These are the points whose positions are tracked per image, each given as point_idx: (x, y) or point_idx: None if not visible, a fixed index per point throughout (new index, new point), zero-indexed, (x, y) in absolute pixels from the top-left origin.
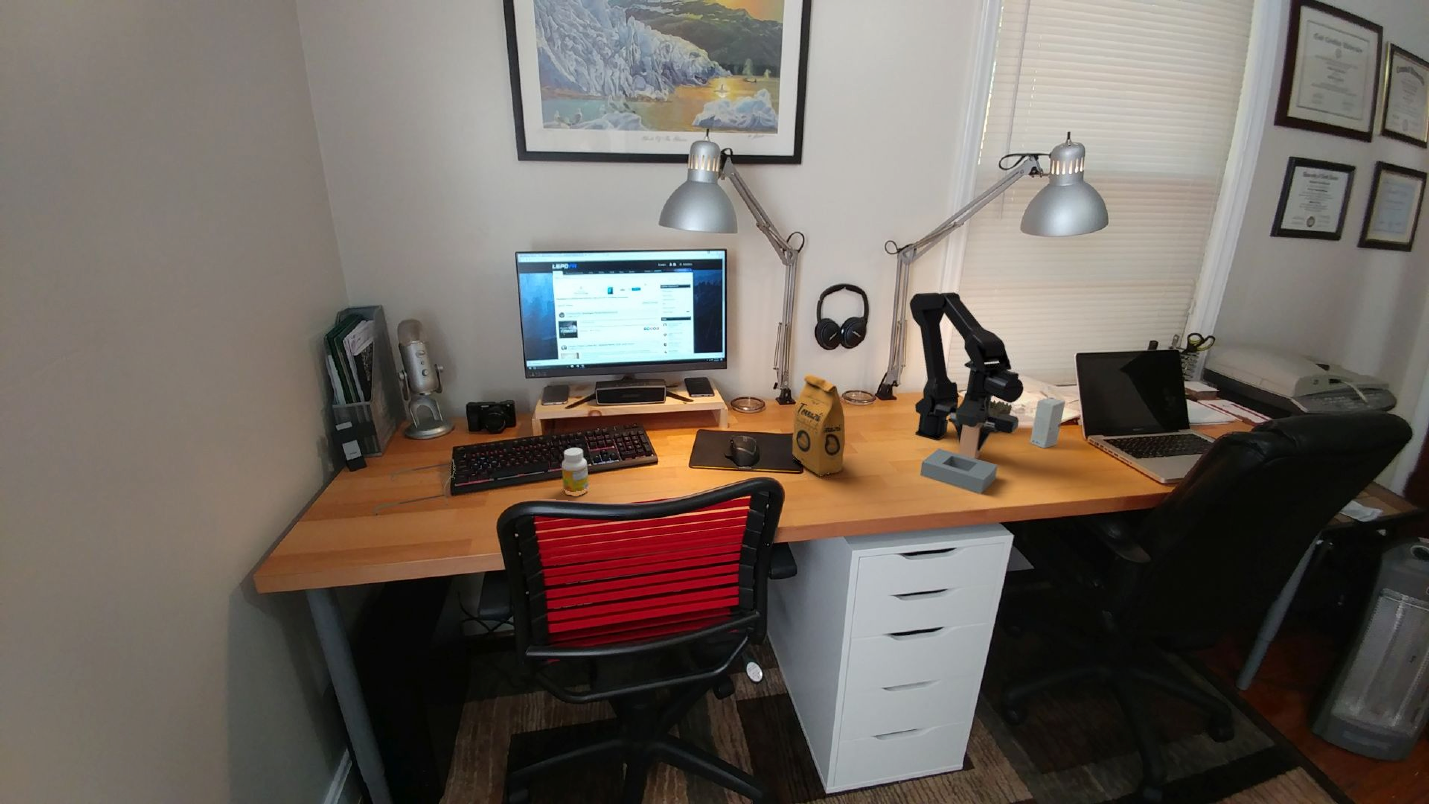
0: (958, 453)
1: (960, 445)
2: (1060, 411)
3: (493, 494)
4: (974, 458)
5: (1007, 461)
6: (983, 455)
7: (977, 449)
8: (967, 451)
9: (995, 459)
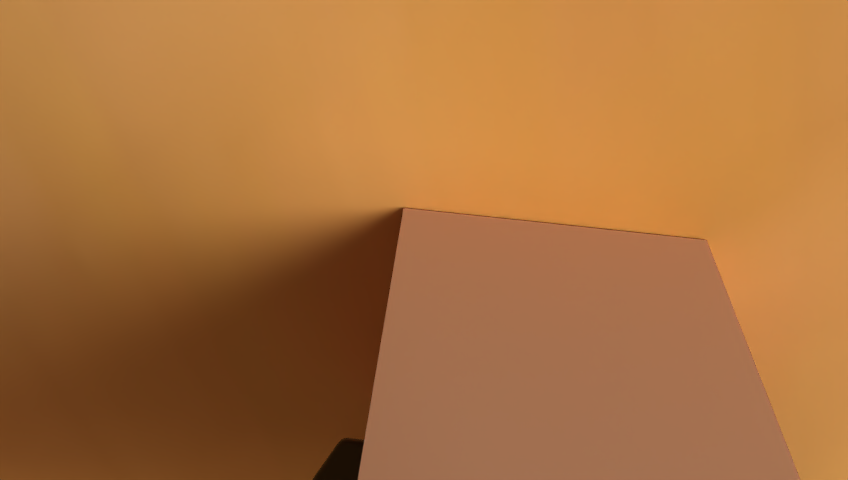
0: (718, 290)
1: (758, 436)
2: None
3: None
4: (396, 258)
5: (33, 445)
6: None
7: None
8: (555, 339)
9: (174, 431)
